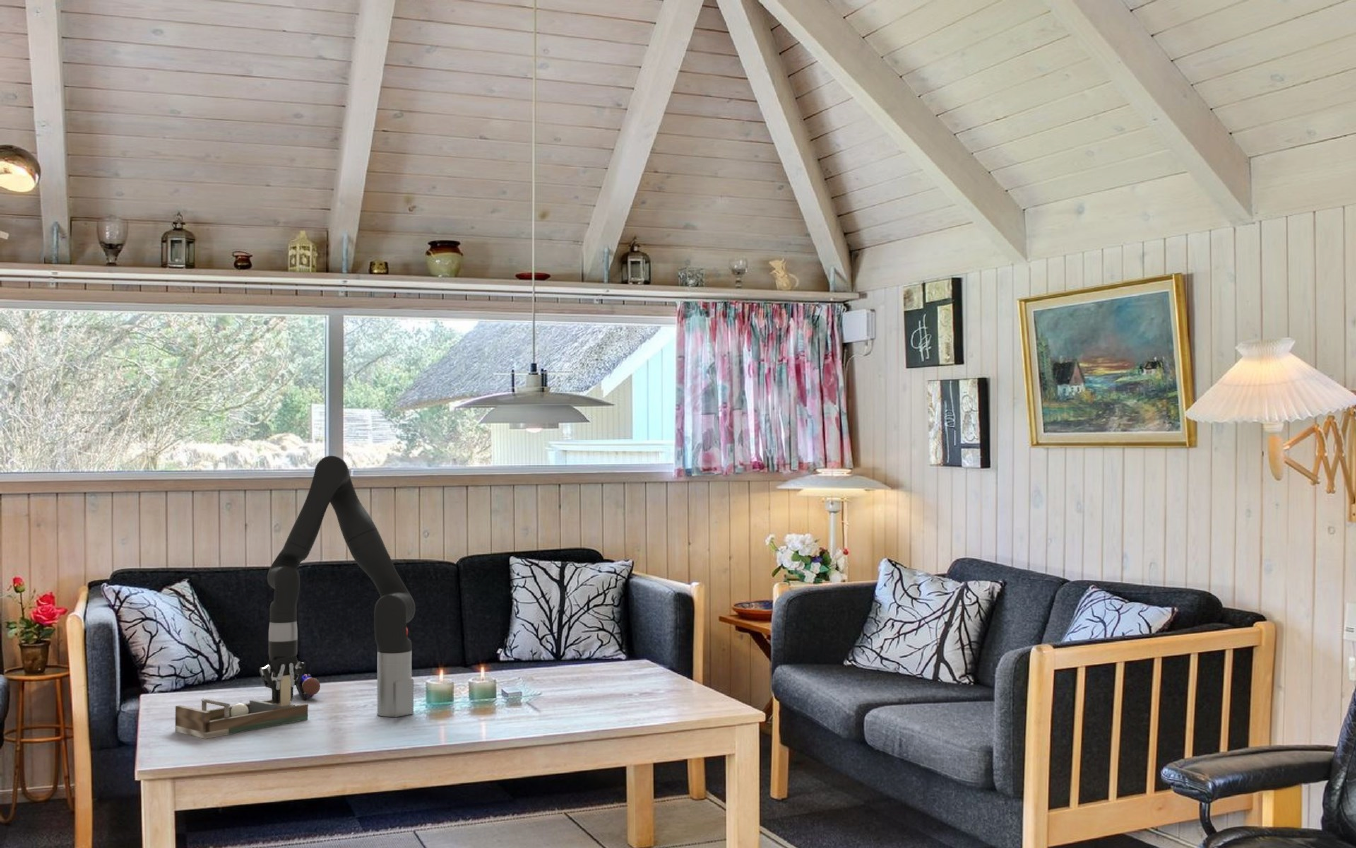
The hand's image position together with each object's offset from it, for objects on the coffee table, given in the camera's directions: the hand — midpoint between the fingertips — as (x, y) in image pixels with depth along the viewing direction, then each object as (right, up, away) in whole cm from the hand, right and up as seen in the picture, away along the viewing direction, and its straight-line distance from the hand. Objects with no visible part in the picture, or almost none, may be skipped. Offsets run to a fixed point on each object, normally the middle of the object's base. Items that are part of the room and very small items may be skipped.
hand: (282, 701), depth 337 cm
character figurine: (-3, -6, +30) cm, 31 cm away
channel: (-8, -4, -10) cm, 13 cm away
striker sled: (-1, -2, -2) cm, 3 cm away
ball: (-8, 0, -10) cm, 13 cm away
